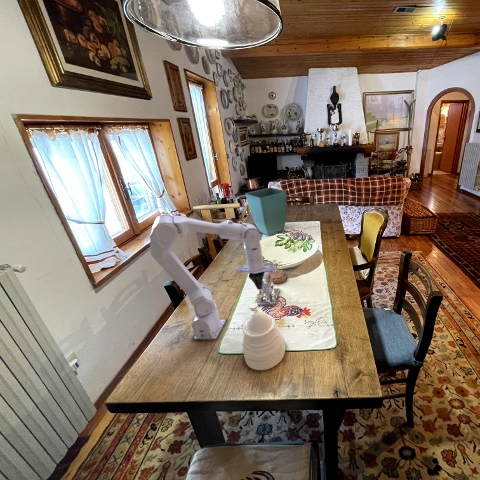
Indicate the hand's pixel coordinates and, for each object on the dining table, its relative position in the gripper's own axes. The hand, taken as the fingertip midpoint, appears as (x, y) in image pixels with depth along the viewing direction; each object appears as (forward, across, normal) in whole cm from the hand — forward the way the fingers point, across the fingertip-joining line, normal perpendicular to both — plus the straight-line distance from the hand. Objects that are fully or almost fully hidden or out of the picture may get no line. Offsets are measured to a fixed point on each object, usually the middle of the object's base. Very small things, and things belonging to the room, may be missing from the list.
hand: (259, 288), depth 97 cm
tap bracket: (+10, 0, -8) cm, 13 cm away
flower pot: (+11, +16, -84) cm, 86 cm away
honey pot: (+11, -6, +21) cm, 25 cm away
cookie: (+11, -1, -23) cm, 25 cm away
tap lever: (+5, 0, -4) cm, 6 cm away
